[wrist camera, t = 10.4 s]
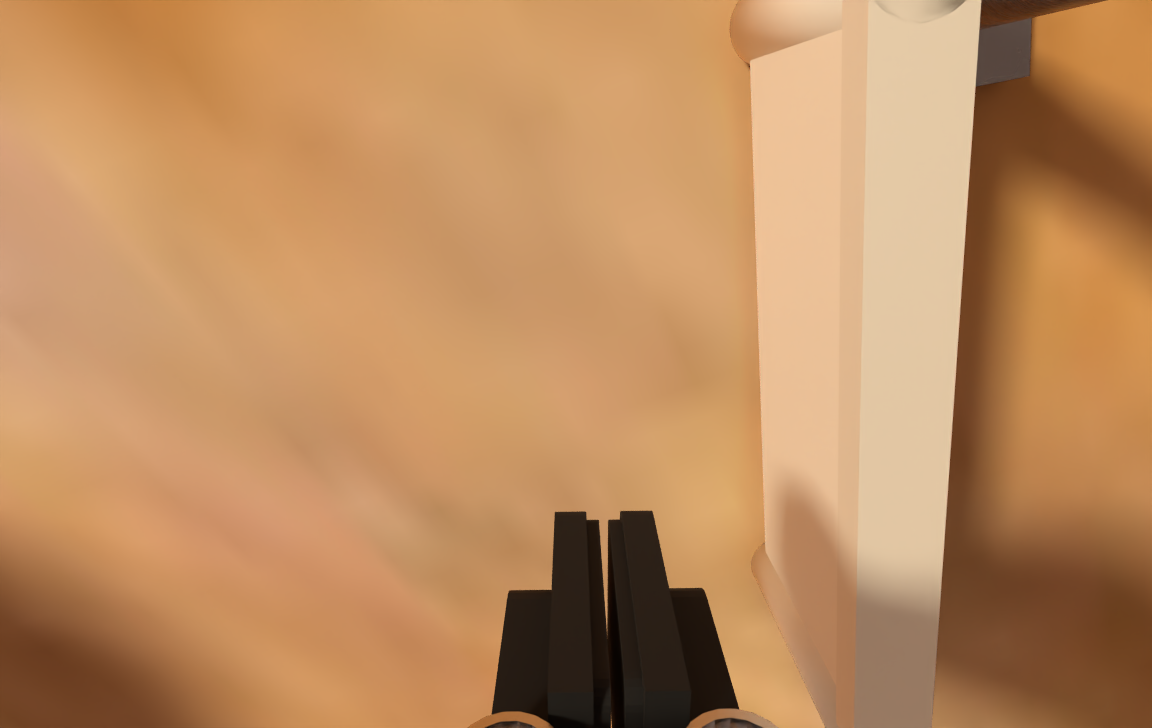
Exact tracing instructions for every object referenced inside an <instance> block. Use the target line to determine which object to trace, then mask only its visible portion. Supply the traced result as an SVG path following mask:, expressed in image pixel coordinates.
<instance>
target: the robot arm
mask: <svg viewBox="0 0 1152 728" xmlns="http://www.w3.org/2000/svg"><path fill="white" fill-rule="evenodd" d="M611 719H612V728H778V727H776V726H775V725H774V724H773V723H772V722H770V721H769V720H767V719H765V718H763V717H761V716H758V715H756V714H754V713H752V712H747V711H743V710H739V707H738V703H737V700H736V696H735V693H734V689H733V686H732V683H731V679H730V676H729V672H728V669H727V665H726V662H725V659H724V655H723V652H722V648H721V645H720V641H719V638H718V634H717V631H716V628H715V624H714V621H713V617H712V614H711V610H710V607H709V604H708V600H707V597H706V594H705V591H704V590H703V589H702V588H669V585H668V581H667V576H666V571H665V567H664V562H663V557H662V553H661V548H660V544H659V539H658V534H657V530H656V525H655V520H654V516H653V512H652V511H621V512H620V520H608V623H607V628H606V615H605V601H604V587H603V573H602V559H601V545H600V531H599V520H586V512H555V522H554V546H553V570H552V590H511V591H509V593H508V598H507V605H506V612H505V619H504V627H503V634H502V642H501V649H500V656H499V664H498V671H497V679H496V686H495V694H494V701H493V708H492V715H489V716H486V717H484V718H482V719H480V720H479V721H477V722H475V723H473V724H471V725H470V726H469V727H468V728H611Z"/></svg>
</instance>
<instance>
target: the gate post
mask: <svg viewBox="0 0 1152 728" xmlns="http://www.w3.org/2000/svg"><path fill="white" fill-rule="evenodd" d="M1102 1H1106V0H981V13H980V27H979V42H978V57H977V71H976V86H981V85H986V84H991V83H996V82H1002V81H1007V80H1012V79H1017V78H1022V77H1027V76H1030V48H1031V18H1033V17H1037V16H1042V15H1046V14H1050V13H1055V12H1059V11H1063V10H1067V9H1072V8H1076V7H1080V6H1085V5H1089V4H1093V3H1097V2H1102ZM976 86H975V87H976Z"/></svg>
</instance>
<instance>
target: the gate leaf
mask: <svg viewBox="0 0 1152 728" xmlns="http://www.w3.org/2000/svg"><path fill="white" fill-rule="evenodd" d="M980 13H981V0H739V2H738V3H737V5H736V7H735V9H734V11H733V13H732V17H731V21H730V38H731V42H732V45H733V47H734V49H735V51H736V53H737V54H738V56H739V57H740V58H741V59H742V60H744V61H745V62H746V63H748V64H750V77H751V109H752V141H753V172H754V204H755V236H756V267H757V299H758V330H759V362H760V394H761V425H762V457H763V489H764V520H765V543H763V544H762V545H761V546H760V547H759V548H758V549H757V550H756V551H755V553H754V555H753V557H752V561H751V569H752V572H753V575H754V577H755V579H756V581H757V583H758V585H759V587H760V589H761V592H762V594H763V596H764V598H765V600H766V602H767V604H768V606H769V609H770V611H771V613H772V615H773V617H774V619H775V621H776V623H777V626H778V628H779V630H780V632H781V634H782V636H783V638H784V640H785V643H786V645H787V647H788V649H789V651H790V653H791V655H792V657H793V660H794V662H795V664H796V666H797V668H798V670H799V672H800V674H801V677H802V679H803V681H804V683H805V685H806V687H807V689H808V691H809V694H810V696H811V698H812V700H813V702H814V704H815V706H816V708H817V711H818V713H819V715H820V717H821V719H822V721H823V723H824V725H825V728H932V714H933V700H934V685H935V670H936V656H937V641H938V627H939V612H940V597H941V583H942V568H943V553H944V539H945V524H946V510H947V495H948V480H949V466H950V451H951V437H952V422H953V407H954V393H955V378H956V364H957V349H958V334H959V320H960V305H961V290H962V276H963V261H964V247H965V232H966V217H967V203H968V188H969V174H970V159H971V144H972V130H973V115H974V101H975V86H976V71H977V57H978V42H979V27H980Z"/></svg>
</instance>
